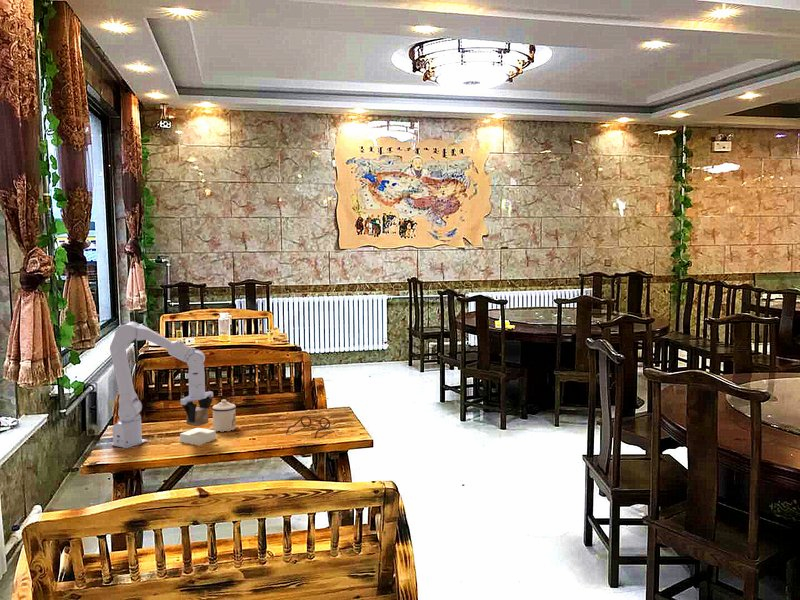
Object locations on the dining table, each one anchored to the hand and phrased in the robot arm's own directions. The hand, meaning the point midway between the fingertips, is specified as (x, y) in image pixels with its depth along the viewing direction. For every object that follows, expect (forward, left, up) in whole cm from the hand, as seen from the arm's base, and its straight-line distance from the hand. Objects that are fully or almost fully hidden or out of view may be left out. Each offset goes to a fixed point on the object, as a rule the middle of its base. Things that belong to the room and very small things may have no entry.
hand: (197, 419), depth 244 cm
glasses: (+28, -29, -8) cm, 42 cm away
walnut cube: (0, 0, -2) cm, 2 cm away
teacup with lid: (+17, +3, -8) cm, 19 cm away
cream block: (0, 0, -8) cm, 8 cm away
